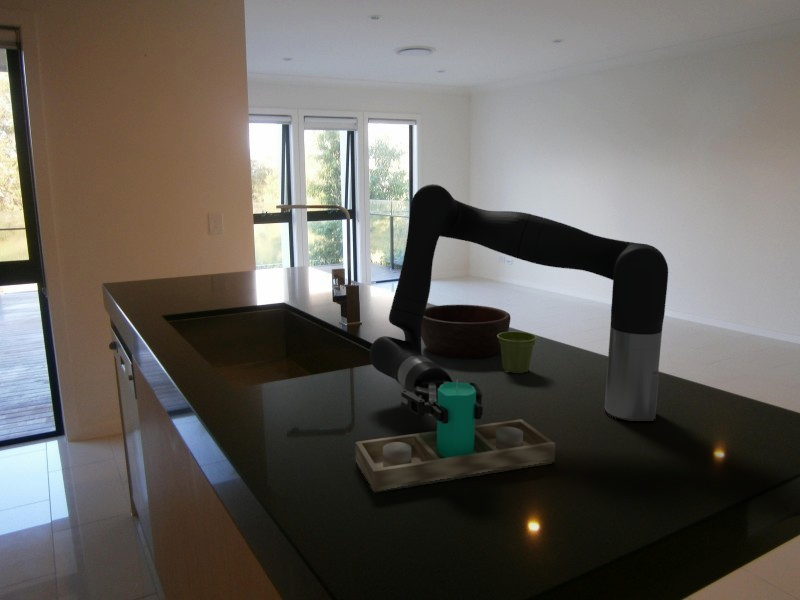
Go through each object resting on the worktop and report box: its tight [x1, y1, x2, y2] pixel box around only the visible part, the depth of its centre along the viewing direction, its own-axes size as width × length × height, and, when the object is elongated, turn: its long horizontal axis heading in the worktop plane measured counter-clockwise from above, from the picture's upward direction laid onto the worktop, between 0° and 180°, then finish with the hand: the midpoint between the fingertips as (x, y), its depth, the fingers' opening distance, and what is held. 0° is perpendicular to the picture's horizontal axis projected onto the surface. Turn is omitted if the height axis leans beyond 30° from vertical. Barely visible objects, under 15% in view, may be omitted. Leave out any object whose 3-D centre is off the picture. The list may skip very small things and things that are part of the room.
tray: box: [354, 418, 556, 492], centre depth 95 cm, size 30×11×4 cm, turn 109°
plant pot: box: [497, 331, 538, 374], centre depth 143 cm, size 9×9×9 cm
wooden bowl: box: [421, 304, 511, 359], centre depth 161 cm, size 25×25×10 cm
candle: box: [436, 378, 476, 458], centre depth 94 cm, size 6×6×12 cm
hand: (462, 415), depth 91 cm, fingers closed on candle, 5 cm apart
